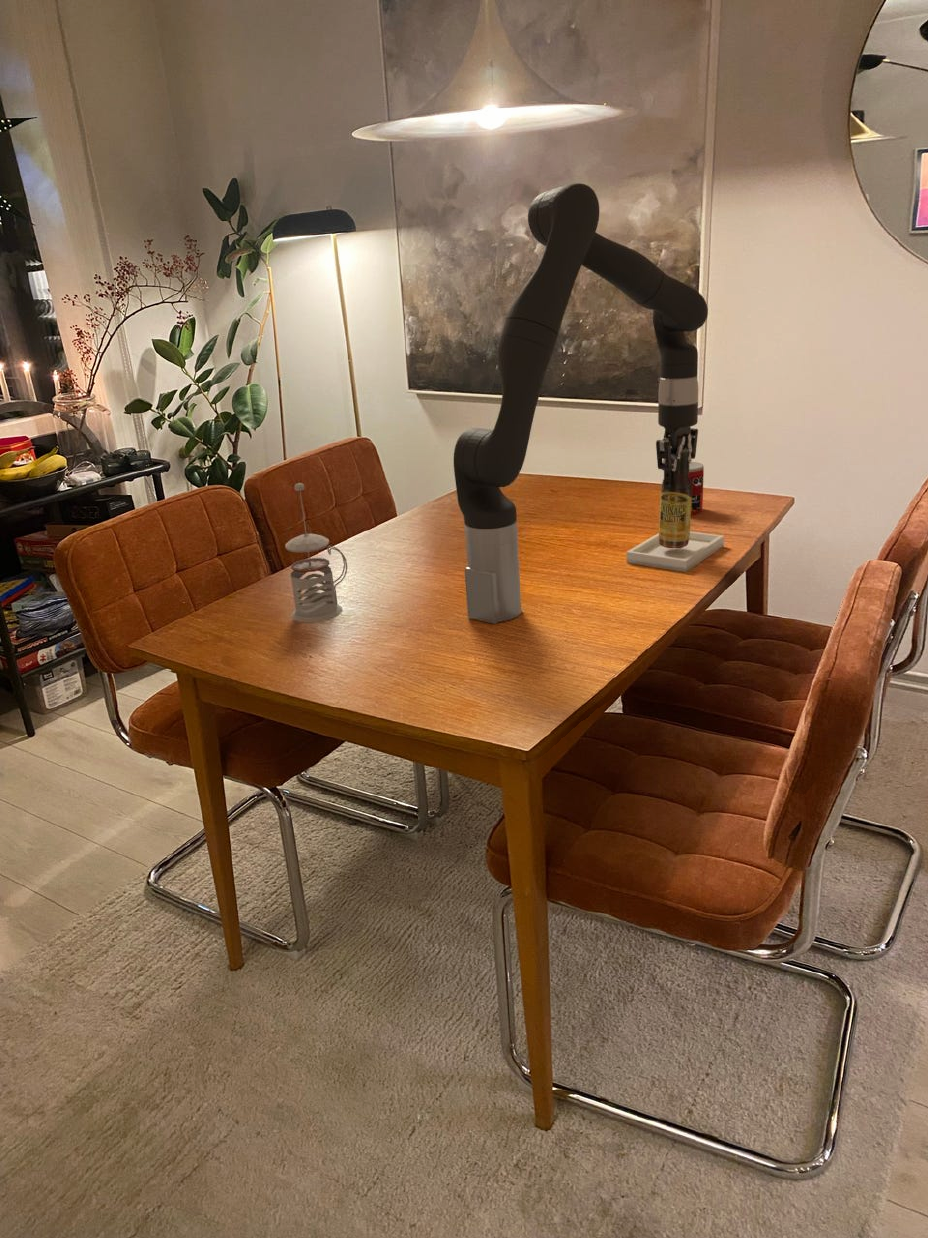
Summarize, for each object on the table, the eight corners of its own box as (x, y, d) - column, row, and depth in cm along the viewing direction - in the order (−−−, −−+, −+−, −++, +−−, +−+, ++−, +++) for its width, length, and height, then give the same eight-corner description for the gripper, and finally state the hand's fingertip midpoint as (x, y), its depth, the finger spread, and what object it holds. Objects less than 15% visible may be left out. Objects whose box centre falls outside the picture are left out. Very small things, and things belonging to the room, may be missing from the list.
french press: (286, 609, 178) (266, 481, 169) (345, 597, 182) (329, 472, 172) (296, 626, 170) (276, 493, 160) (357, 614, 173) (341, 482, 164)
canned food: (667, 515, 218) (668, 469, 214) (670, 506, 225) (671, 461, 221) (701, 516, 216) (702, 469, 212) (703, 506, 223) (704, 461, 219)
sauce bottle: (654, 548, 190) (655, 452, 182) (663, 539, 195) (664, 445, 188) (686, 551, 187) (688, 453, 180) (694, 541, 192) (697, 446, 185)
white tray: (685, 572, 182) (686, 561, 181) (626, 562, 189) (626, 551, 189) (723, 546, 195) (724, 535, 194) (666, 538, 202) (666, 528, 201)
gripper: (679, 407, 173) (677, 496, 179) (712, 395, 183) (709, 479, 189) (643, 405, 177) (642, 492, 184) (676, 393, 188) (675, 476, 194)
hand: (676, 485), depth 186 cm, fingers closed on sauce bottle, 5 cm apart
